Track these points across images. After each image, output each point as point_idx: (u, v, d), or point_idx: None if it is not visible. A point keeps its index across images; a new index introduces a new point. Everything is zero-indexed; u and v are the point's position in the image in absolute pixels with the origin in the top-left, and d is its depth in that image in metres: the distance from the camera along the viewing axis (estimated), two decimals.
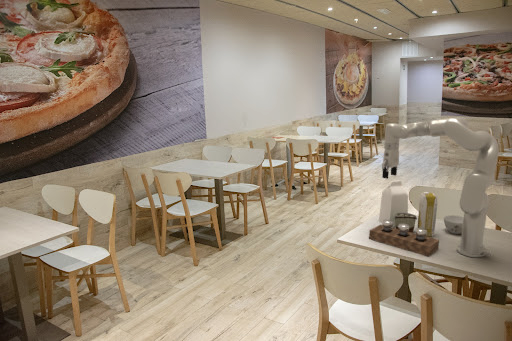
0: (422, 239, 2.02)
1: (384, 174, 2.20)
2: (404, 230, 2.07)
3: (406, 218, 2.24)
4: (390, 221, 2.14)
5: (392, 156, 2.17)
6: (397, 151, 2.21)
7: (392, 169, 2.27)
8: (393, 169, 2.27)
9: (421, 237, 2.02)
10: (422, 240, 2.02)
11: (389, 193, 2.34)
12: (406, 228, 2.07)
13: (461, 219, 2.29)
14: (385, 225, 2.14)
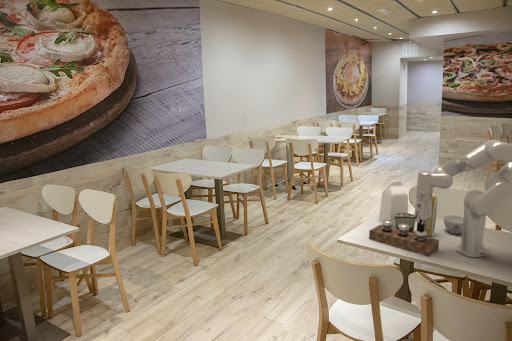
0: (422, 241, 2.02)
1: (419, 227, 2.02)
2: (404, 230, 2.07)
3: (406, 218, 2.24)
4: (390, 221, 2.14)
5: (425, 208, 1.96)
6: (430, 201, 1.99)
7: None
8: None
9: (421, 239, 2.02)
10: None
11: (389, 193, 2.34)
12: (406, 228, 2.07)
13: (461, 219, 2.29)
14: (385, 225, 2.14)
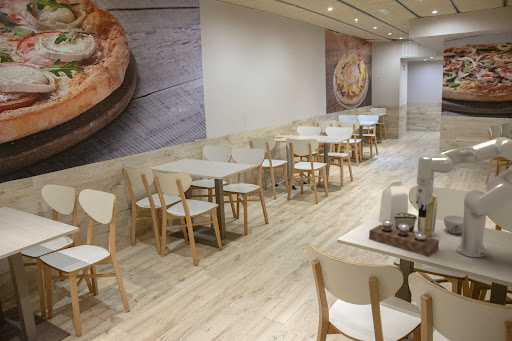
0: None
1: (420, 213, 2.00)
2: (404, 230, 2.07)
3: (406, 218, 2.24)
4: (390, 221, 2.14)
5: (426, 193, 1.94)
6: (431, 187, 1.98)
7: None
8: None
9: None
10: None
11: (389, 193, 2.34)
12: (406, 228, 2.07)
13: (461, 219, 2.29)
14: (385, 225, 2.14)
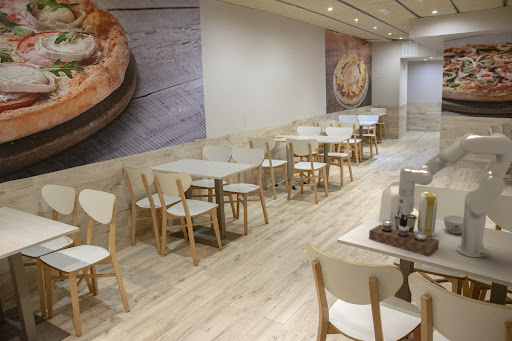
0: None
1: (402, 222, 2.08)
2: (404, 231, 2.07)
3: None
4: (390, 221, 2.14)
5: (407, 203, 2.02)
6: (412, 197, 2.05)
7: None
8: None
9: None
10: None
11: (389, 193, 2.34)
12: (406, 229, 2.07)
13: (461, 219, 2.29)
14: (385, 225, 2.14)
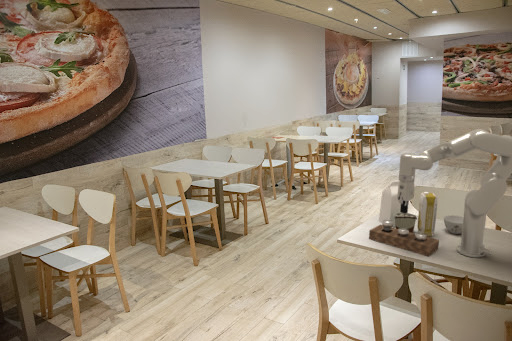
0: None
1: (402, 209, 2.06)
2: (404, 235, 2.07)
3: (406, 218, 2.24)
4: (390, 221, 2.14)
5: (407, 189, 2.01)
6: (413, 183, 2.04)
7: None
8: None
9: None
10: None
11: (389, 193, 2.34)
12: (406, 233, 2.07)
13: (461, 219, 2.29)
14: (385, 225, 2.14)
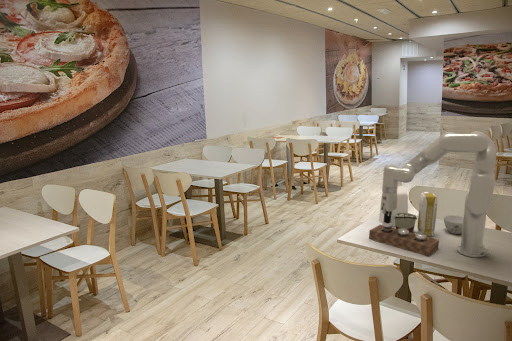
0: None
1: (385, 218, 2.14)
2: (404, 235, 2.07)
3: (406, 218, 2.24)
4: (390, 222, 2.15)
5: (390, 200, 2.08)
6: (395, 194, 2.11)
7: None
8: None
9: None
10: None
11: None
12: (406, 233, 2.07)
13: (461, 219, 2.29)
14: (385, 226, 2.14)
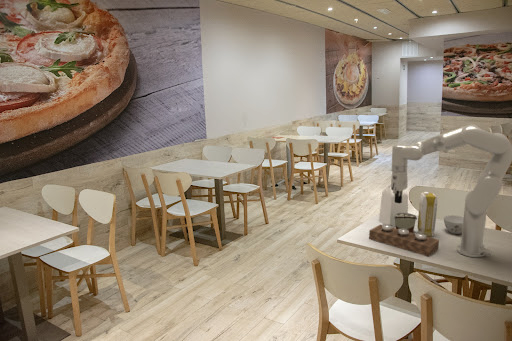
0: None
1: (396, 199, 2.10)
2: (404, 235, 2.07)
3: (406, 218, 2.24)
4: (390, 225, 2.15)
5: (400, 179, 2.05)
6: (405, 173, 2.08)
7: None
8: None
9: None
10: None
11: (389, 193, 2.34)
12: (406, 233, 2.07)
13: (461, 219, 2.29)
14: (385, 229, 2.14)
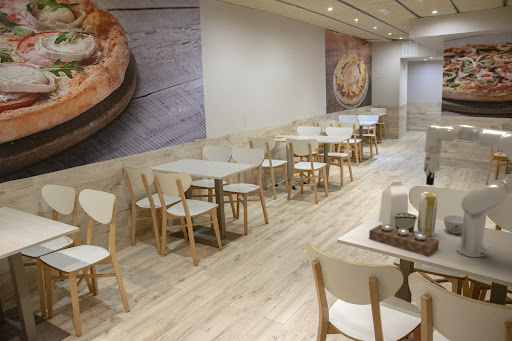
0: None
1: (428, 181, 2.06)
2: (404, 235, 2.07)
3: (406, 218, 2.24)
4: (390, 225, 2.15)
5: (434, 160, 2.00)
6: (439, 155, 2.03)
7: None
8: None
9: None
10: None
11: (389, 193, 2.34)
12: (406, 233, 2.07)
13: (461, 219, 2.29)
14: (385, 229, 2.14)
